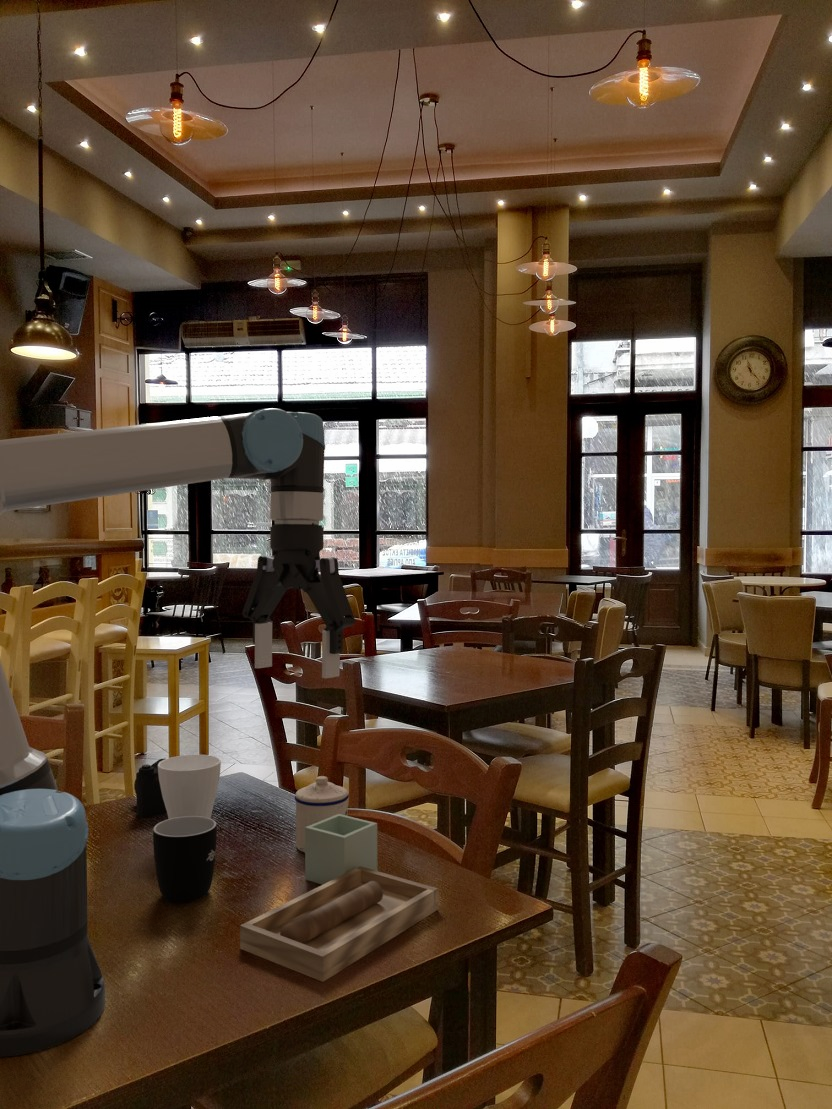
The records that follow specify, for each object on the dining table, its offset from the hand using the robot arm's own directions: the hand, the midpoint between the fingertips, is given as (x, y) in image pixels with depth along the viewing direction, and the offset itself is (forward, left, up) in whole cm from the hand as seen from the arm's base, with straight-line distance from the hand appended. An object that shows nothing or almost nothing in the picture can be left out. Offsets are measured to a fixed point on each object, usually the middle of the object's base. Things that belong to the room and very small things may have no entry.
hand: (295, 672), depth 124 cm
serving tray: (-3, -11, -33) cm, 35 cm away
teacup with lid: (+19, +13, -33) cm, 40 cm away
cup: (+7, +32, -33) cm, 46 cm away
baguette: (+4, -11, -32) cm, 34 cm away
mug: (-7, +16, -33) cm, 37 cm away
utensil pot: (+10, 0, -33) cm, 34 cm away
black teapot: (+17, +51, -33) cm, 63 cm away
